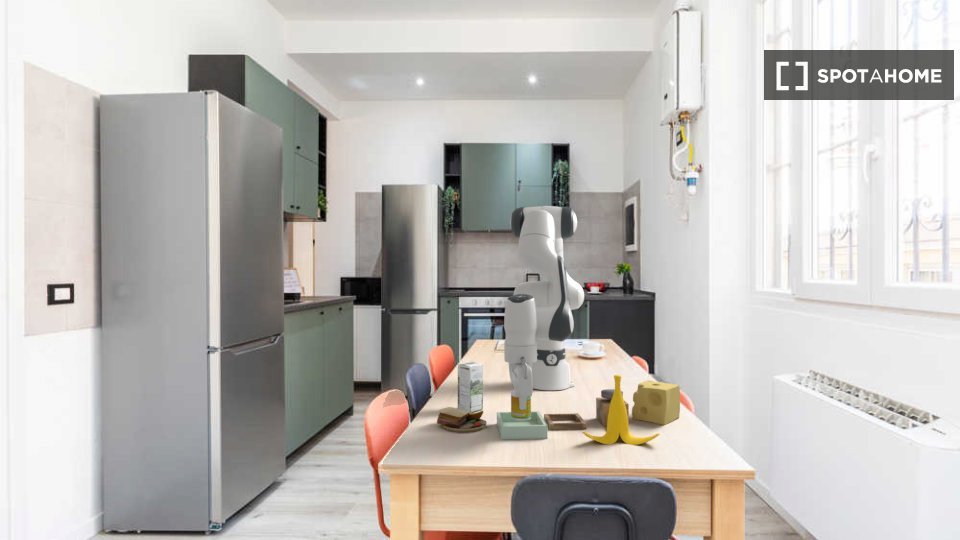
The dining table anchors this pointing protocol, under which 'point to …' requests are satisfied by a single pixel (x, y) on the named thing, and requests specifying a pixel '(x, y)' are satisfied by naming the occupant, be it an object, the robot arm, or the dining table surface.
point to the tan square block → (606, 406)
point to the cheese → (656, 402)
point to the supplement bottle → (516, 411)
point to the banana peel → (618, 421)
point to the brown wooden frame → (565, 426)
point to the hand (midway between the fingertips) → (520, 405)
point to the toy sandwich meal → (460, 420)
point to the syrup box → (470, 387)
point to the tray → (521, 426)
